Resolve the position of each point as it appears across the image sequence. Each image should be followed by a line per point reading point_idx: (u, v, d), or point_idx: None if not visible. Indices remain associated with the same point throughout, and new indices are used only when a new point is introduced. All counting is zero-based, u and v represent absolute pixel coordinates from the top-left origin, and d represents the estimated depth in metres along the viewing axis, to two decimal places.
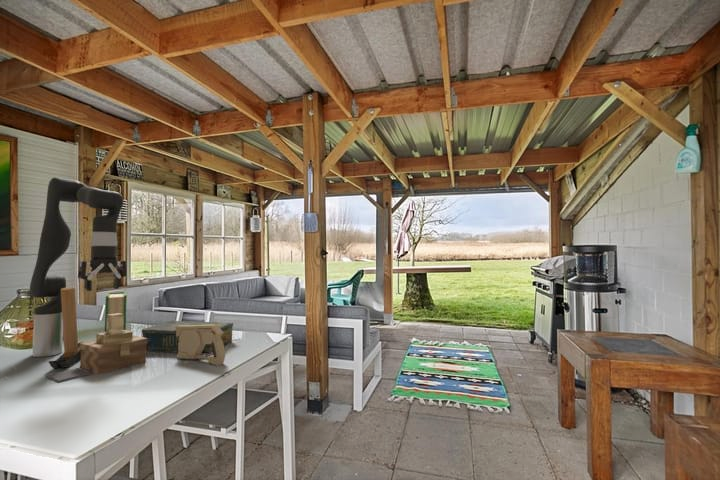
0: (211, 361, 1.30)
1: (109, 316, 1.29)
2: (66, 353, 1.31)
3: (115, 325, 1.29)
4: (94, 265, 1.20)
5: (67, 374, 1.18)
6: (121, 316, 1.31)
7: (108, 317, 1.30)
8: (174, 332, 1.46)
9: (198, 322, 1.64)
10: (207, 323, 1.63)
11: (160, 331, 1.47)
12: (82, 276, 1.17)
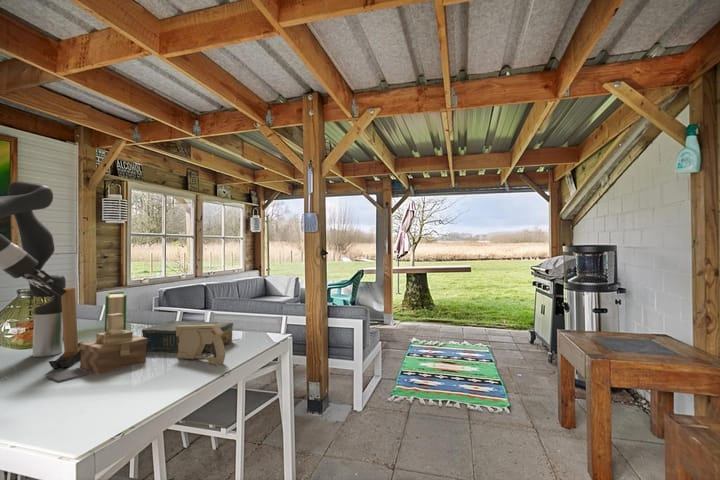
0: (211, 361, 1.30)
1: (109, 316, 1.29)
2: (66, 353, 1.31)
3: (115, 325, 1.29)
4: (27, 277, 1.12)
5: (67, 374, 1.18)
6: (121, 316, 1.31)
7: (108, 317, 1.30)
8: (175, 332, 1.46)
9: (198, 322, 1.65)
10: (207, 323, 1.63)
11: (160, 331, 1.47)
12: (33, 284, 1.16)
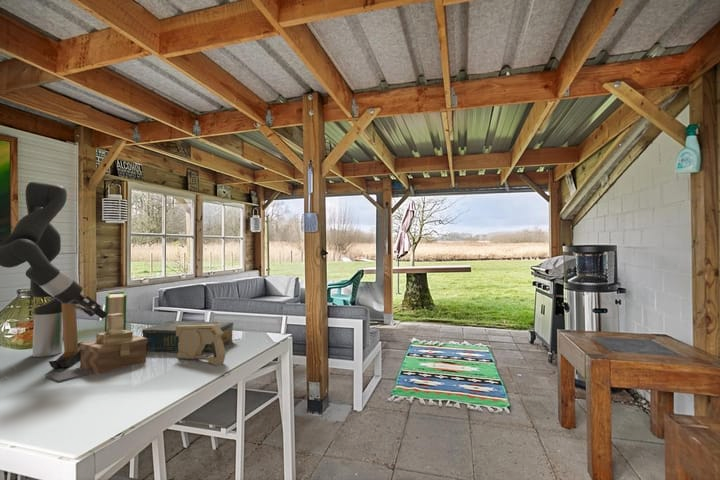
0: (211, 361, 1.30)
1: (109, 316, 1.29)
2: (66, 353, 1.31)
3: (115, 325, 1.29)
4: (72, 302, 1.22)
5: (67, 374, 1.18)
6: (121, 316, 1.31)
7: (108, 317, 1.30)
8: None
9: (198, 322, 1.65)
10: (207, 323, 1.64)
11: (161, 331, 1.47)
12: (76, 308, 1.26)
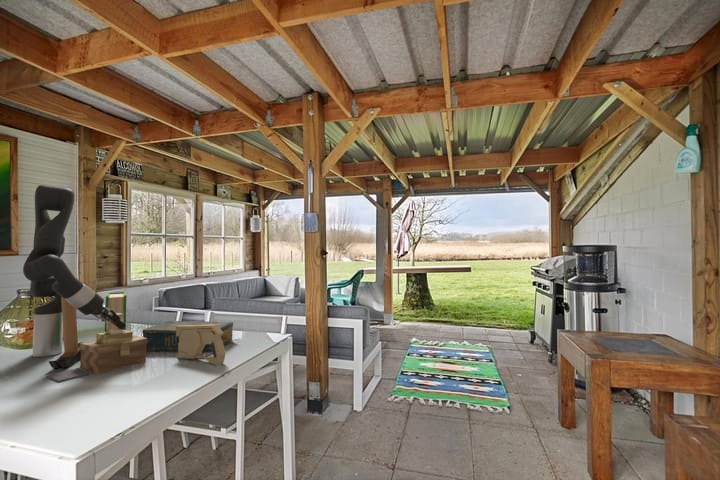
0: (211, 361, 1.30)
1: None
2: (66, 353, 1.31)
3: None
4: None
5: (67, 374, 1.18)
6: (121, 316, 1.31)
7: None
8: None
9: (197, 322, 1.65)
10: (207, 322, 1.64)
11: (162, 331, 1.47)
12: (101, 320, 1.31)
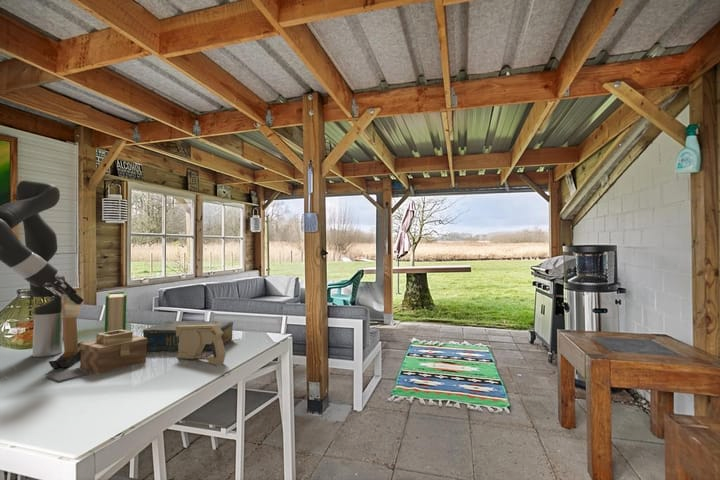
0: (211, 361, 1.30)
1: None
2: (66, 353, 1.31)
3: (71, 300, 1.18)
4: (46, 286, 1.16)
5: (67, 374, 1.18)
6: (78, 290, 1.19)
7: None
8: None
9: (197, 322, 1.66)
10: (207, 322, 1.65)
11: (163, 331, 1.47)
12: (56, 294, 1.20)
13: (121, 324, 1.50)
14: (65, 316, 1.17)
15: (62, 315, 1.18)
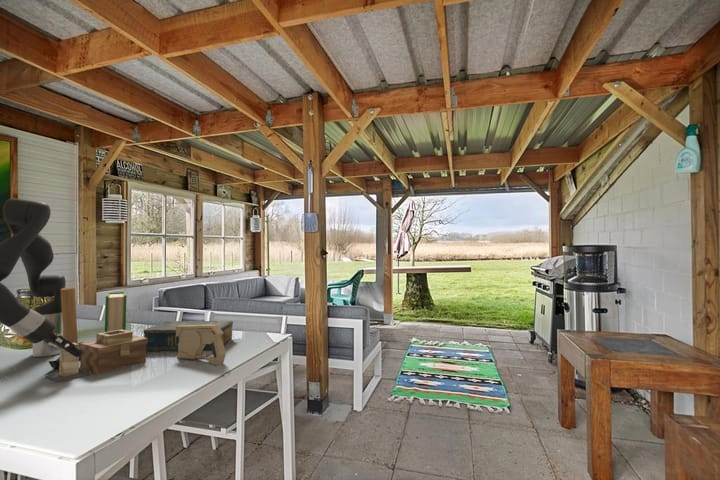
0: (211, 361, 1.30)
1: None
2: None
3: (68, 358, 1.17)
4: (44, 340, 1.15)
5: None
6: (76, 347, 1.19)
7: None
8: None
9: (196, 321, 1.66)
10: (206, 322, 1.65)
11: (165, 331, 1.47)
12: None
13: (121, 324, 1.50)
14: (63, 374, 1.16)
15: (60, 373, 1.17)
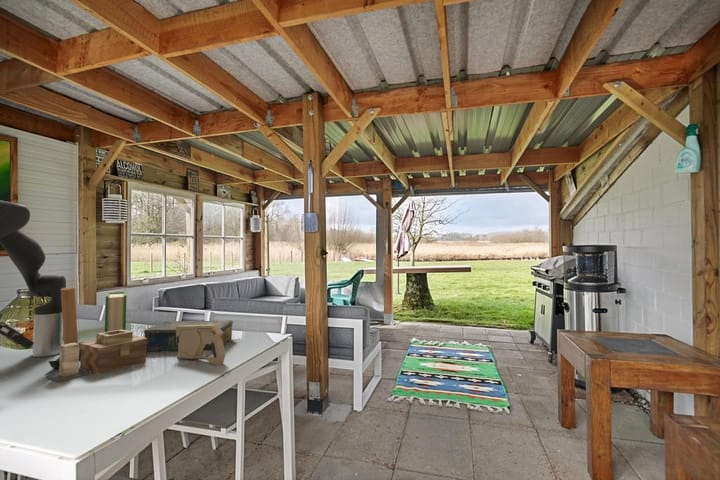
0: (211, 361, 1.30)
1: (62, 347, 1.17)
2: None
3: (68, 358, 1.17)
4: None
5: None
6: (76, 347, 1.19)
7: (61, 348, 1.17)
8: None
9: (196, 321, 1.66)
10: (206, 322, 1.66)
11: (166, 331, 1.47)
12: None
13: (121, 324, 1.50)
14: (63, 374, 1.16)
15: (60, 373, 1.17)
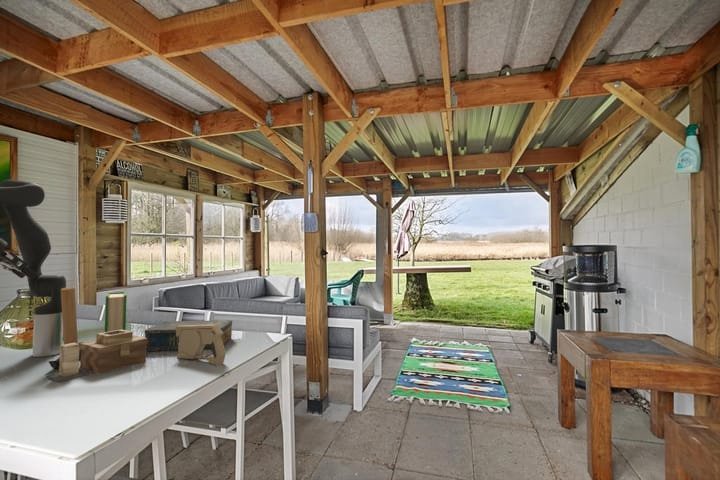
0: (211, 361, 1.30)
1: (62, 347, 1.17)
2: None
3: (68, 358, 1.17)
4: None
5: None
6: (76, 347, 1.19)
7: (61, 348, 1.17)
8: None
9: (195, 321, 1.67)
10: (206, 322, 1.66)
11: (166, 331, 1.48)
12: (3, 268, 1.13)
13: (121, 324, 1.50)
14: (63, 374, 1.16)
15: (60, 373, 1.17)
